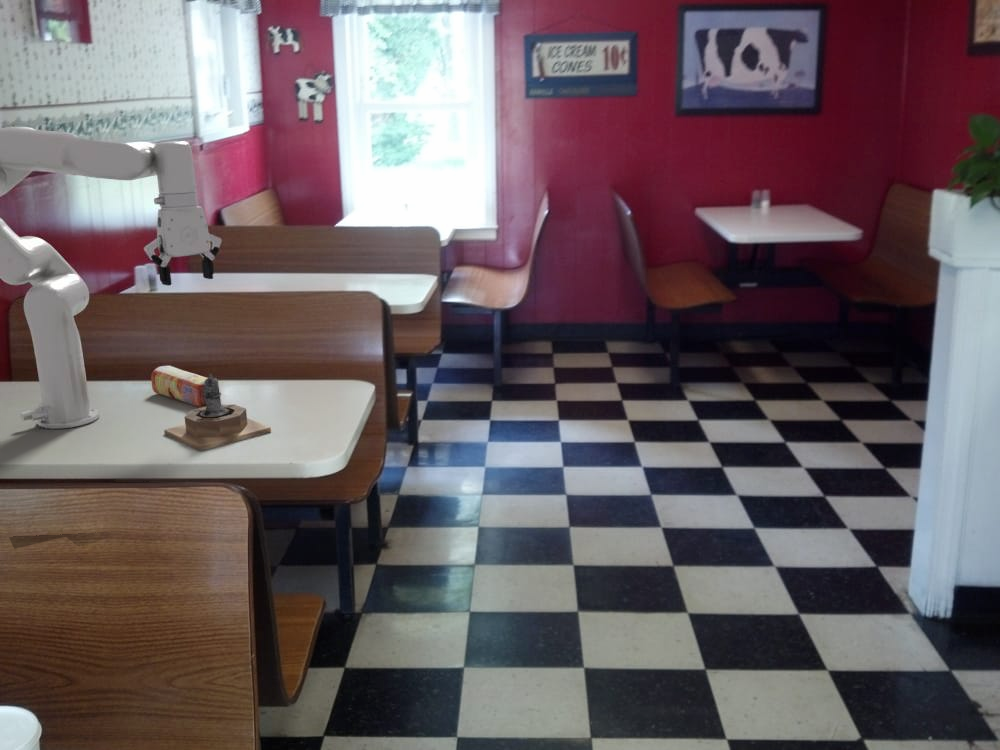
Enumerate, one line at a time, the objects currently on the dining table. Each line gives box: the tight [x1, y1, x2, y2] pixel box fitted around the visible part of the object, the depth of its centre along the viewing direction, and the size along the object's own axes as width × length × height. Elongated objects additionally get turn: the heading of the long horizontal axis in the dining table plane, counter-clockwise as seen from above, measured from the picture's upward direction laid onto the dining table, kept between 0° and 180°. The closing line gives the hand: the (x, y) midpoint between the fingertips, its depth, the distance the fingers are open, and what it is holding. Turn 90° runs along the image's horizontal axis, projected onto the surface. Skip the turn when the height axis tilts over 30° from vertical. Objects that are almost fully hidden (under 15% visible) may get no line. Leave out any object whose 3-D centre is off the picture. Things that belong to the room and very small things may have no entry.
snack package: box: [150, 365, 208, 408], centre depth 240 cm, size 21×7×7 cm, turn 47°
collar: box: [163, 404, 272, 452], centre depth 214 cm, size 16×16×4 cm
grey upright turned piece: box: [200, 373, 229, 418], centre depth 212 cm, size 6×6×12 cm
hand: (187, 281), depth 219 cm, fingers open, 9 cm apart
